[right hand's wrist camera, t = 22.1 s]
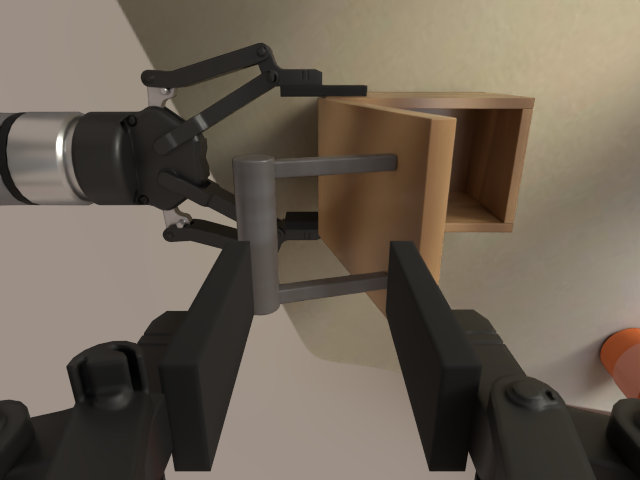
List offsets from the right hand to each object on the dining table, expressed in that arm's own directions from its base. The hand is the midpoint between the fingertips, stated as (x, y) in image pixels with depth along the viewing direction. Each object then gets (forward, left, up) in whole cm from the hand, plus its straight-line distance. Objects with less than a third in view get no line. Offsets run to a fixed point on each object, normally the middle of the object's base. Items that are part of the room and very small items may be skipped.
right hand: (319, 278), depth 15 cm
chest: (-1, +8, -29) cm, 30 cm away
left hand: (0, +4, -22) cm, 23 cm away
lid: (0, +3, -11) cm, 11 cm away
